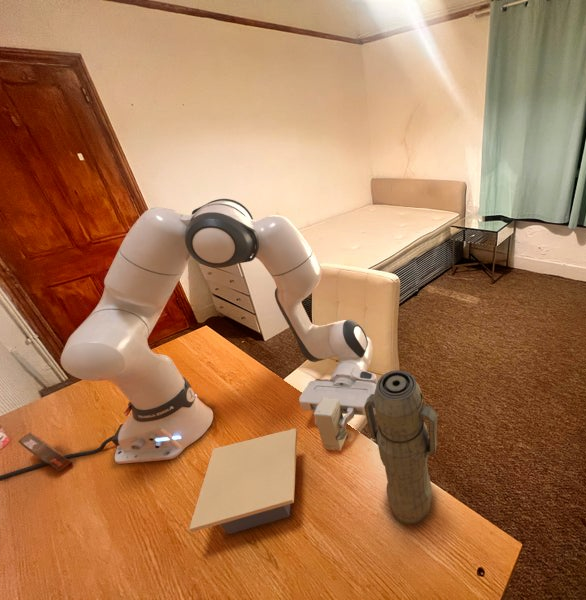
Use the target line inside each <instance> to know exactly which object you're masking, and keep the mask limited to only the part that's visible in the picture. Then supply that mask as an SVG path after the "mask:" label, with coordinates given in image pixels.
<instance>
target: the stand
mask: <svg viewBox="0 0 586 600" xmlns="http://www.w3.org/2000/svg"><path fill="white" fill-rule="evenodd" d="M297 447H298V429H297V427H295V428H291V429H287V430H282V431H279V432H275V433H271V434H267V435H263V436H259V437H255V438H251V439H246V440H243V441H238V442H235V443H231V444H227V445H222V446H218V447H215V448H213V449H212V452H211V455H210V458H209V462H208V465H207V468H206V472H205V474H204V478H203V481H202V485H201V488H200V492H199V494H198V498H197V501H196V505H195V508H194V511H193V515H192V518H191V521H190V525H189V528H188V531H190V532H191V533H194V532H198V531H201V530H203V529H204V530H205V529H207V528H211V527H215V526H219V525H220V526H221V528H223V530H224V531H225V533H226V534H227V535H231V534H235V533H238V532H242V531H246V530H248V529H251V528H255V527H258V526H262V525H265V524H268V523H272V522H275V521H279V520H282V519H285V518H289V517H290V516H291V504H294V503H295V490H296V489H295V487H296V467H297V451H298V450H297Z"/></svg>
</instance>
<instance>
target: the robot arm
mask: <svg viewBox="0 0 586 600" xmlns="http://www.w3.org/2000/svg"><path fill="white" fill-rule="evenodd" d="M304 237H305V236H303V234H302V233H301V232H300V231H299V230H298V229H297V227H296V226H295V225H294V224H293V223H292V221H291V220H290V219H288V218H287V217H285V216H282V215H279V214H277V215H276V214H274V215H267V216H265V217H262V218H261V219H254V218H253V215H252V213H251V211H249V209H248V208H247V206H245V205H244V204H242V203H241V202H239V201H237V200H235V199H231V198H217V199H214V200H210V201H209V202H208V203H206V204H204V205H201V206H199V207H197V208H195V209H194V210H192V211H191V214H188V215H187V214H183V213H181V212H180V211H177V210H175V209H172V208H167V207H151V208H149V209H147V210H145V211H144V212H143V213H142V214H141V215H140V217H138V218H137V220H136V221H135V222H134V223H133V225H132V226H131V228H130V229H129V230H128V232H127V233H126V234H125V237H124V238H123V241H122V242H121V244H120V246H119V248H118V250H117V252H116V254H115V257H114V258H113V260H112V263H111V265H110V266H109V268H108V271H107V273H106V275H105V277H104V279H103V285H104V288H103V293H102V296H101V298H100V300H99V302H98V304H97V305H96V307H95V308H94V309H93V310H92V312H91V313H90V314H89V315H88V316H87V317H86V319H85V320H83V322H82V323H81V324H80V325H79V326H78V327H77V328H76V329H75V330H74V331H73V332H72V333H71V334H70V336H69V337H68V338H67V341H66V343H65V344H64V345H65V346H64V347H63V350H62V352H61V355H60V365H61V367H62V368H63V369H64V371H66V373H67V374H69V375H70V376H72V377H73V378H76V379H79V380H83V381H89V382H104V381H106V382H109V383H111V384H113V386H115V387H117V388H118V389H119V391H120V392H121V393H122V394H123V395H124V396H125V397H126V398H127V400H128V404H127V407H126V409H125V411H124V414H125V416H126V419H125V420H124V422H123V423H120V424H119V426H118V428H117V430H116V431H115V433H114V435H112V436H110V437H109V438H107V439H106V440H104V441H102V443H101V444H100V446H99V447H98V448H94V449H92V450H88V451H82V452H74V453H69V454H66V455H63V456H64V457H65V458H66V459H70V458H75V457H76V458H77V457H84V456H90V455H93V454H96V453H99V452H101V451H102V450H104V449H105V447H106V445H108V443H111V442H112V443H113V444H114V445H115V446H116V450H115V452H114V453H115V454H114V461H115V463H116V464H117V465H120V464H134V463H144V462H156V461H157V462H158V461H168V460H174V459H175V458H176V457H178V456H179V455H180V454H181V453H182V452H183V451H184V450H185V449H186V448H187V447H189V446H190V445H192V444H193V443H195V442H196V441H197V440H199V439H200V438H201V437H202V436H203V435H204V434H205V433H206V432H207V431H208V430H209V428H210V427H211V425H212V422H213V420H214V411H213V410H212V408H210V407H209V406H208V405H206V403H204V402H203V401H201V400H200V398H198V395H197V393H195V391H194V389H193V387H192V385H191V384H190V382H189V381H188V380H187V379H186V377H185V376H183V375H182V373H181V372H180V370H179V369H178V367H177V366H176V364H175V363H174V361H173V359H172V358H171V357H170V356H168V355H166V354H163V353H155V352H154V351H153V350H152V349H151V347H150V346H149V343H148V342H149V341H148V339H149V337H150V335H151V333H152V331H153V330H154V328H155V326H156V324H157V322H158V321H159V319H160V317H161V315H162V313H163V311H164V309H165V307H166V305H167V303H168V301H169V299H170V298H171V296H172V295H173V292H174V290H175V288H176V286H177V285H178V283H179V281H180V279H181V278H182V276H183V274H184V273H185V270H186V268H187V266H188V264H189V262H190V261H191V259H192V258H193V259H194V260H195V261H196V262H197V263H199V264H201V265H203V266H206V267H209V268H214V269H221V268H228V267H231V266H232V267H233V266H235V265H238V264H239V265H240V264H244V263H249V262H252V261H254V260H255V259H257V260H258V261H260V263H261V264H262V265H263V266H264V267H265V270H267V272H268V273H269V275H270V276H271V278H272V279H273V281H274V283H275V286H276V288H275V290H274V298H275V301H276V302H275V303H276V304H277V306H278V308H279V310H280V312H281V314H282V316H283V318H284V320H285V321H286V324H287V325H288V327H289V329H290V331H291V332H292V334H293V336H294V338H295V340H296V342H297V346H298V349H299V351H300V354H301V355H302V356H303V357H304V358H305V359H306V360H308V362H311V363H318V362H321V361H324V360H327V359H332V358H336V357H337V358H338V363H337V364H336V365H335V368H334V370H333V372H332V374H331V376H330V379H329V378H328V379H327V378H325V379H324V378H323V379H322V378H315V379H313V380H310V381H309V382H308V383H307V385H306V387H305V388H304V390H303V391H302V393H301V394H300V396H299V398H298V403H299V406H300V408H301V410H303V411H308V412H315V410H316V408H317V406H318V404H319V402H320V401H321V399H322V397H326V398H334V399H339V403H340V407H341V411H342V415H343V418H340V419H339V422H338V426H339V428H345V427H346V428H347V424H348V423H349V422H350V421H351V420H352V419H354V418H355V415H356V416H366V412H365V408H364V406H365V403H366V400H367V398H368V397H369V396H370V395H371V394H374V393H375V389H376V386H377V383H378V380H379V379H378V377H377V375H376V374H375V373H373V372H370V371H368V370H369V368H370V366H371V363H372V357H373V350H374V347H373V341H372V340H371V339H370V337H368V336H367V335H366V332H365V331H364V329H363V328H362V327H361V326H360V324H358V323H357V322H356V321H355V320H353V319H350V318H348V319H342V320H338V321H334V322H330V323H326V324H321V325H316V324H313V323H312V322H311V320H310V318H309V315H308V313H307V312H306V309H305V307H304V306H303V303H302V301H304V300H305V299H307V298H308V297H309V296H310V295H311V294H312V293H313V292H314V291H315V290H316V288H318V285H319V284H320V282H321V279H322V274H323V273H322V266H321V263H320V261H319V260H318V257H317V255H316V254H315V253H314V251H313V249H312V248H311V246H310V244H309V243H308V242H307V240H306V239H305V238H304ZM372 406H373V405H372ZM373 411H374V416H376V412H375V408H373ZM314 424H315V426H316V427H317V423H316V420H315V419H314ZM47 465H50V464H49V463H46V462H44V461H43V462H42V461H41V462H39V463H36V464H33V465H30V466H26V467H23V468H20V469H17V470H14V471H10V472H7V473H3V474H1V475H0V480H3V479H6V478H10V477H12V476H15V475H18V474H22V473H26V472H29V471H31V470H35V469H38V468H41V467H43V466H47Z"/></svg>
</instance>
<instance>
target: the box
mask: <svg viewBox="0 0 586 600" xmlns="http://www.w3.org/2000/svg"><path fill="white" fill-rule="evenodd" d="M313 417H314V421H315V420H316V423H317V426H316V427H317V429H318V433H319V435H320V439H321V441H322V445H323V448H324V449H325V450H330V451H339V452H340V451H342V449H343V447H344V444H345V442H346V438H347V436H348V430H347V426H346V427H345V428H339V426H338V422H339V419H340V418H343V417H344V414H342V411H341V407H340V403H339V399H334V398H326V397H322V399H321V401H320V402H319V404H318V406H317V408H316V410H315V411H313Z"/></svg>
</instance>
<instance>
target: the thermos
mask: <svg viewBox="0 0 586 600" xmlns="http://www.w3.org/2000/svg"><path fill="white" fill-rule="evenodd" d="M377 380H378V383H377V386H376V389H375V393H374V394H371V395H370V396H369V397H368V398H367V400H366V403H365V406H364V408H365V412H366V421H367V426H368V432H369V435H370V437H371V440H375V441H376V445H377V448H378V453H379V457H380V460H381V463H382V465H383V467H384V469H385V475H386V481H387V484H386V495H387V501H388V504H389V506H390V507H389V508H390V511H391V513H392V515H393V516H394V517H395V518H396V520H397V521H399V522H401V523H402V524H404V525H405V524H406V525H416V524H418V523H420V522H422V521H424V520H425V518H426V517H427V516H428V515H429V513H430V510H431V509H432V508H431V507H432V495H433V494H432V493H433V492H432V490H433V489H432V483H431V477H430V475H429V470H428V459H429V456H431V455H434V454H436V451H437V446H438V442H437V440H438V439H437V431H438V429H437V428H438V425H437V424H438V413H437V412H436V411H435V409H434V408H433V407H432V406H431V405H427V404H425V402H424V401H423V392H422V389H421V387H420V385H419V384H418V382H417V380H416V378H415V377H414V376H413V374H411V373H410V372H408V371H406V370H402V369H401V370H399V369H397V370H391V371H388V372H385V373H384V374H382V375H381V376H380V377H379V379H377ZM372 405H373V406H372ZM373 408H375V412H376V414H375V415H374V411H373ZM375 416H376V417H375ZM424 419H425V420H427V421H428V426H427V424H426V422H425V420H424ZM376 421H377V422H376ZM377 424H378V426H377ZM377 427H378V428H377Z"/></svg>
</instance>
